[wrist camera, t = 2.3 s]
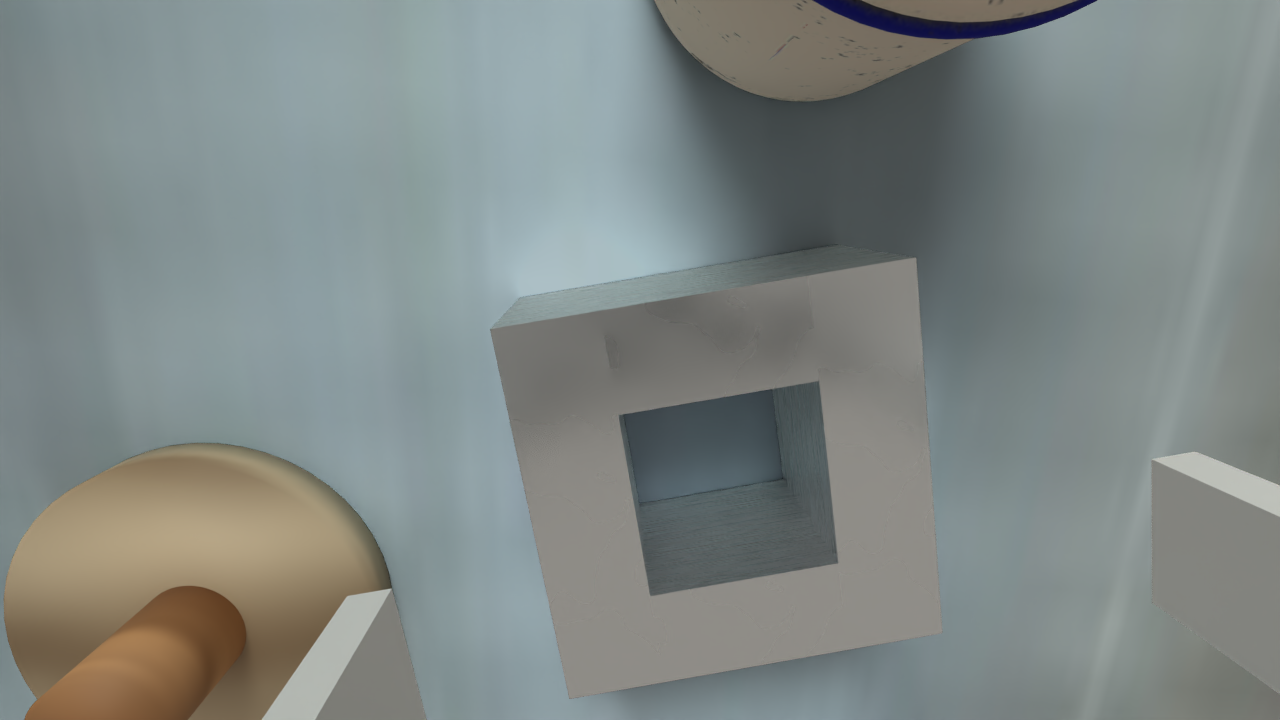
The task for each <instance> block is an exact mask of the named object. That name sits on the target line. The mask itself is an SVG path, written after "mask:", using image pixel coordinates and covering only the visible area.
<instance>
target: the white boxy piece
mask: <svg viewBox="0 0 1280 720" xmlns="http://www.w3.org/2000/svg"><path fill="white" fill-rule="evenodd" d="M490 331H491V336H492V340H493V345H494V350H495V354H496V359H497V364H498V368H499V373H500V377H501V382H502V387H503V391H504V396H505V401H506V405H507V410H508V415H509V419H510V424H511V429H512V433H513V438H514V443H515V447H516V452H517V457H518V461H519V466H520V471H521V475H522V480H523V485H524V489H525V494H526V499H527V503H528V508H529V513H530V517H531V522H532V526H533V531H534V536H535V540H536V545H537V550H538V554H539V559H540V564H541V568H542V573H543V578H544V582H545V587H546V592H547V596H548V601H549V606H550V610H551V615H552V620H553V624H554V629H555V634H556V638H557V643H558V648H559V652H560V657H561V662H562V666H563V671H564V675H565V680H566V685H567V689H568V694H569V699H572V698H578V697H584V696H589V695H595V694H601V693H606V692H612V691H618V690H623V689H629V688H635V687H640V686H646V685H652V684H657V683H663V682H669V681H674V680H680V679H686V678H691V677H697V676H703V675H708V674H714V673H720V672H725V671H731V670H737V669H742V668H748V667H754V666H759V665H765V664H771V663H776V662H782V661H788V660H793V659H799V658H805V657H810V656H816V655H822V654H827V653H833V652H839V651H844V650H850V649H856V648H861V647H867V646H873V645H878V644H884V643H890V642H895V641H901V640H907V639H912V638H918V637H924V636H929V635H935V634H941V633H942V620H941V606H940V591H939V577H938V563H937V548H936V534H935V520H934V505H933V491H932V477H931V462H930V448H929V434H928V419H927V405H926V391H925V376H924V362H923V348H922V333H921V319H920V305H919V290H918V276H917V262H916V257H911V256H905V255H898V254H892V253H886V252H880V251H874V250H868V249H861V248H855V247H849V246H843V245H831V246H825V247H819V248H813V249H807V250H801V251H795V252H789V253H783V254H777V255H771V256H765V257H759V258H753V259H748V260H742V261H736V262H730V263H724V264H718V265H712V266H706V267H700V268H694V269H688V270H682V271H676V272H670V273H664V274H658V275H652V276H646V277H640V278H634V279H628V280H622V281H616V282H610V283H604V284H598V285H593V286H587V287H581V288H575V289H569V290H563V291H557V292H551V293H545V294H539V295H533V296H527V297H521V298H519V299H518V300H517V301H516V302H515V303H514V304H513V305H512V306H511V307H510V308H509V309H508V310H507V311H506V313H505V314H504V315H503V316H502V317H501V318H500V319H499V320H498V321H497V322H496V323H495V324H494V325H493V327H492V328H491V329H490ZM769 389H772V392H773V400H774V408H775V416H776V425H777V433H778V441H779V449H780V457H781V465H782V474H783V479H781V480H775V481H770V482H764V483H758V484H752V485H746V486H741V487H735V488H729V489H723V490H717V491H712V492H706V493H700V494H694V495H688V496H683V497H677V498H671V499H665V500H659V501H654V502H648V503H642V504H639V499H638V494H637V488H636V482H635V477H634V471H633V465H632V459H631V454H630V448H629V442H628V437H627V431H626V425H625V419H624V414H628V413H634V412H640V411H646V410H652V409H658V408H664V407H669V406H675V405H681V404H687V403H693V402H699V401H705V400H710V399H716V398H722V397H728V396H734V395H740V394H746V393H751V392H757V391H763V390H769Z"/></svg>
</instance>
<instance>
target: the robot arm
mask: <svg viewBox="0 0 1280 720" xmlns="http://www.w3.org/2000/svg"><path fill="white" fill-rule="evenodd" d="M1152 603H1153V604H1155V605H1156V606H1157V607H1159V608H1160V609H1162V610H1163V611H1164V612H1166V613H1167V614H1169V615H1170V616H1171V617H1173V618H1174V619H1176V620H1177V621H1178V622H1180V623H1181V624H1183V625H1184V626H1185V627H1187V628H1188V629H1190V630H1191V631H1192V632H1194V633H1195V634H1197V635H1198V636H1199V637H1201V638H1202V639H1204V640H1205V641H1206V642H1208V643H1209V644H1211V645H1212V646H1213V647H1215V648H1216V649H1218V650H1219V651H1220V652H1222V653H1223V654H1225V655H1226V656H1227V657H1229V658H1230V659H1232V660H1233V661H1234V662H1236V663H1237V664H1239V665H1240V666H1241V667H1243V668H1244V669H1246V670H1247V671H1248V672H1250V673H1251V674H1253V675H1254V676H1255V677H1257V678H1258V679H1260V680H1261V681H1262V682H1264V683H1265V684H1267V685H1268V686H1269V687H1271V688H1272V689H1274V690H1275V691H1276V692H1278V693H1279V694H1280V486H1279V485H1277V484H1274V483H1272V482H1269V481H1267V480H1264V479H1262V478H1259V477H1257V476H1255V475H1252V474H1250V473H1247V472H1245V471H1242V470H1240V469H1237V468H1235V467H1232V466H1230V465H1227V464H1225V463H1222V462H1220V461H1217V460H1215V459H1212V458H1210V457H1207V456H1205V455H1202V454H1200V453H1197V452H1191V453H1185V454H1179V455H1173V456H1167V457H1161V458H1156V459H1152ZM262 720H427V719H426V715H425V712H424V708H423V704H422V700H421V696H420V693H419V689H418V685H417V681H416V678H415V674H414V670H413V666H412V662H411V659H410V655H409V651H408V647H407V644H406V640H405V636H404V632H403V628H402V625H401V621H400V617H399V613H398V609H397V606H396V602H395V598H394V594H393V591H392V588H391V589H386V590H380V591H374V592H368V593H362V594H356V595H350V596H347V597H346V598H345V600H344V601H343V603H342V604H341V606H340V607H339V609H338V610H337V611H336V613H335V614H334V616H333V617H332V619H331V620H330V622H329V623H328V624H327V626H326V627H325V629H324V630H323V632H322V633H321V635H320V636H319V637H318V639H317V640H316V642H315V643H314V645H313V646H312V648H311V649H310V651H309V652H308V653H307V655H306V656H305V658H304V659H303V661H302V662H301V664H300V665H299V666H298V668H297V669H296V671H295V672H294V674H293V675H292V677H291V678H290V679H289V681H288V682H287V684H286V685H285V687H284V688H283V690H282V691H281V692H280V694H279V695H278V697H277V698H276V700H275V701H274V703H273V704H272V705H271V707H270V708H269V710H268V711H267V713H266V714H265V716H264V717H263V718H262Z"/></svg>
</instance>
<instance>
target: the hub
mask: <svg viewBox="0 0 1280 720" xmlns="http://www.w3.org/2000/svg"><path fill="white" fill-rule="evenodd" d="M386 589H391V583H390V578H389V573H388V570H387V567H386V564H385V561H384V558H383V555H382V553H381V551H380V549H379V547H378V545H377V543H376V541H375V539H374V537H373V535H372V533H371V532H370V531H369V529H368V528H367V526H366V525H365V523H364V522H363V520H362V519H361V517H360V516H359V515H358V514H357V513H356V512H355V511H354V509H353V508H352V507H351V506H350V505H349V504H348V503H347V502H346V501H345V500H344V499H343V498H342V497H341V496H340V495H339V494H338V493H336V492H335V491H334V490H333V489H332V488H331V487H330V486H328V485H327V484H326V483H324V482H323V481H321V480H320V479H318V478H317V477H315V476H314V475H312V474H311V473H309V472H308V471H306V470H304V469H302V468H300V467H298V466H296V465H294V464H292V463H290V462H289V461H286V460H284V459H281V458H278V457H276V456H273V455H271V454H268V453H265V452H261V451H257V450H253V449H250V448H246V447H241V446H234V445H227V444H219V443H190V444H181V445H171V446H167V447H163V448H159V449H154V450H150V451H147V452H144V453H142V454H139V455H137V456H134V457H131V458H129V459H127V460H125V461H123V462H121V463H119V464H117V465H115V466H113V467H112V468H110V469H108V470H106V471H104V472H102V473H100V474H98V475H96V476H95V477H93V478H91V479H89V480H87V481H85V482H83V483H82V484H80V485H78V486H76V487H74V488H72V489H71V490H69V491H67V492H66V493H65V494H63V495H62V496H61V497H59V498H58V499H57V500H55V501H54V502H53V503H51V504H50V505H49V506H48V507H47V508H46V509H45V510H44V511H43V512H42V513H41V514H40V515H39V516H38V517H37V518H36V520H35V521H34V522H33V523H32V525H31V526H30V528H29V529H28V530H27V532H26V533H25V535H24V536H23V538H22V539H21V541H20V543H19V545H18V547H17V550H16V552H15V554H14V556H13V558H12V561H11V565H10V568H9V571H8V575H7V578H6V586H5V593H4V621H5V626H6V631H7V637H8V642H9V645H10V648H11V651H12V654H13V657H14V659H15V662H16V664H17V666H18V668H19V670H20V672H21V674H22V676H23V678H24V680H25V682H26V684H27V685H28V686H29V688H30V689H31V691H32V692H33V694H34V695H35V697H36V698H37V701H36V702H35V703H34V704H33V705H32V706H31V708H30V709H29V710H28V712H27V714H26V716H25V719H24V720H262V718H263V717H264V716H265V714H266V713H267V711H268V710H269V708H270V707H271V705H272V704H273V703H274V701H275V700H276V698H277V697H278V695H279V694H280V692H281V691H282V690H283V688H284V687H285V685H286V684H287V682H288V681H289V679H290V678H291V677H292V675H293V674H294V672H295V671H296V669H297V668H298V666H299V665H300V664H301V662H302V661H303V659H304V658H305V656H306V655H307V653H308V652H309V651H310V649H311V648H312V646H313V645H314V643H315V642H316V640H317V639H318V637H319V636H320V635H321V633H322V632H323V630H324V629H325V627H326V626H327V624H328V623H329V622H330V620H331V619H332V617H333V616H334V614H335V613H336V611H337V610H338V609H339V607H340V606H341V604H342V603H343V601H344V600H345V598H346V597H347V596H350V595H356V594H362V593H368V592H374V591H380V590H386Z"/></svg>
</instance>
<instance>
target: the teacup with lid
mask: <svg viewBox="0 0 1280 720" xmlns="http://www.w3.org/2000/svg"><path fill="white" fill-rule="evenodd" d="M1095 1H1097V0H655V3H656V5H657V7H658V9H659V11H660V12H661V14H662V16H663V18H664V20H665V21H666V23H667V24H668V26H669V28H670V29H671V31H672V32H673V34H674V35H675V36H676V37H677V39H678V40H679V41H680V42H681V44H682V45H683V46H684V47H685V48H686V50H687V51H688V52H689V53H690V54H691V55H692V56H693V57H694V58H695V59H696V60H697V61H699V62H700V63H701V64H702V65H703V66H705V67H706V68H707V69H708V70H709V71H711V72H712V73H714V74H715V75H717V76H718V77H720V78H721V79H723V80H725V81H726V82H728V83H730V84H732V85H734V86H736V87H738V88H740V89H743V90H745V91H748V92H750V93H753V94H756V95H760V96H763V97H767V98H772V99H778V100H784V101H799V102H800V101H819V100H826V99H833V98H837V97H841V96H845V95H849V94H851V93H854V92H857V91H860V90H862V89H865V88H867V87H869V86H871V85H874V84H876V83H878V82H880V81H882V80H885V79H887V78H889V77H891V76H893V75H896V74H898V73H900V72H902V71H904V70H907V69H909V68H911V67H913V66H915V65H918V64H920V63H922V62H924V61H926V60H929V59H931V58H933V57H935V56H938V55H940V54H942V53H944V52H946V51H949V50H951V49H953V48H955V47H957V46H960V45H962V44H964V43H966V42H968V41H971V40H973V39H976V38H983V37H990V36H997V35H1004V34H1008V33H1012V32H1016V31H1020V30H1024V29H1028V28H1032V27H1036V26H1039V25H1042V24H1044V23H1047V22H1050V21H1053V20H1055V19H1058V18H1061V17H1064V16H1066V15H1068V14H1070V13H1072V12H1074V11H1077V10H1079V9H1081V8H1083V7H1085V6H1087V5H1089V4H1091V3H1093V2H1095Z"/></svg>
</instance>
